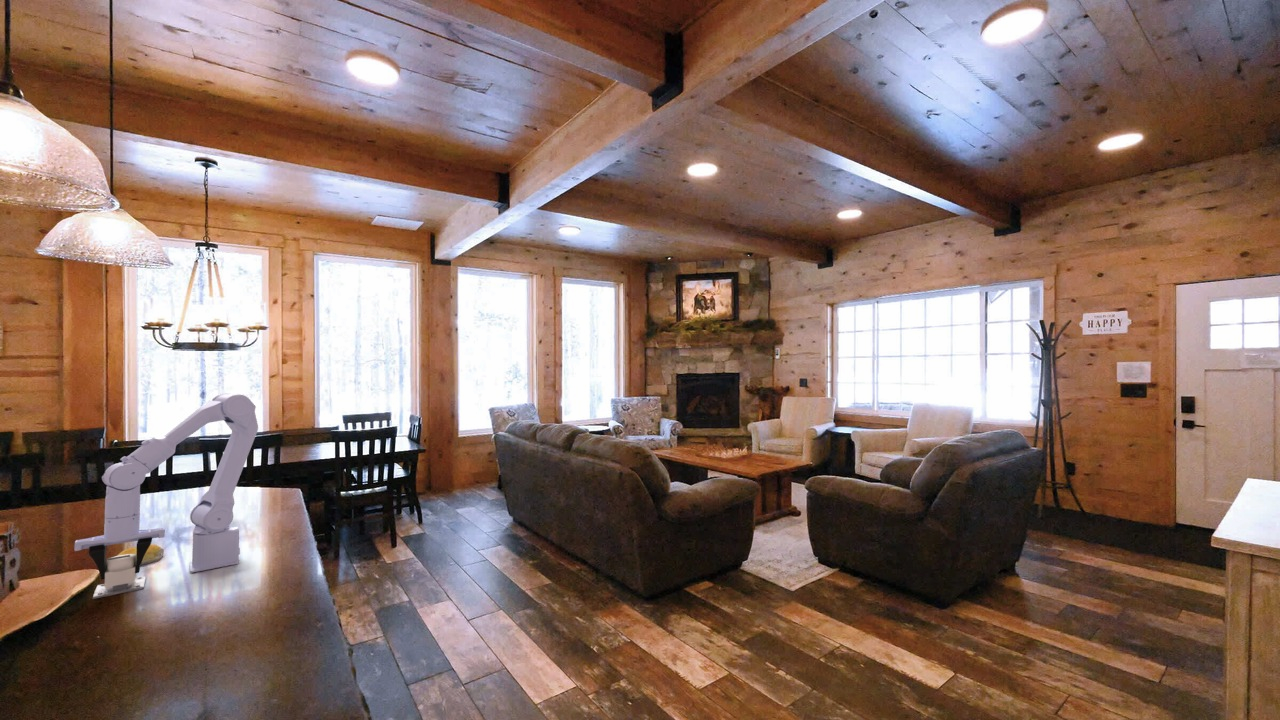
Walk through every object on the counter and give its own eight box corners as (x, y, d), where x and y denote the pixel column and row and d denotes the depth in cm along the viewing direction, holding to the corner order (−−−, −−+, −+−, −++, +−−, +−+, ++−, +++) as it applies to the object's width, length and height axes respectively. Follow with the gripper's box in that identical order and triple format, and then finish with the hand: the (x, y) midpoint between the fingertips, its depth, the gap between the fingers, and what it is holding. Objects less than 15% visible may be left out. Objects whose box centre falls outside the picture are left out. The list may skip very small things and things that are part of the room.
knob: (135, 576, 121) (136, 551, 121) (134, 582, 117) (135, 556, 117) (106, 582, 118) (107, 556, 118) (104, 588, 114) (105, 561, 114)
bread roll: (121, 560, 135) (121, 544, 135) (166, 554, 140) (166, 539, 140) (108, 570, 128) (109, 554, 128) (156, 564, 132) (157, 548, 133)
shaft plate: (145, 578, 123) (146, 564, 123) (143, 588, 117) (144, 574, 117) (97, 587, 118) (97, 573, 118) (92, 599, 112) (93, 583, 112)
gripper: (165, 506, 125) (164, 562, 125) (78, 517, 116) (76, 577, 115) (165, 512, 120) (163, 570, 120) (73, 524, 110) (71, 587, 110)
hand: (120, 574), depth 117 cm, fingers closed on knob, 5 cm apart
